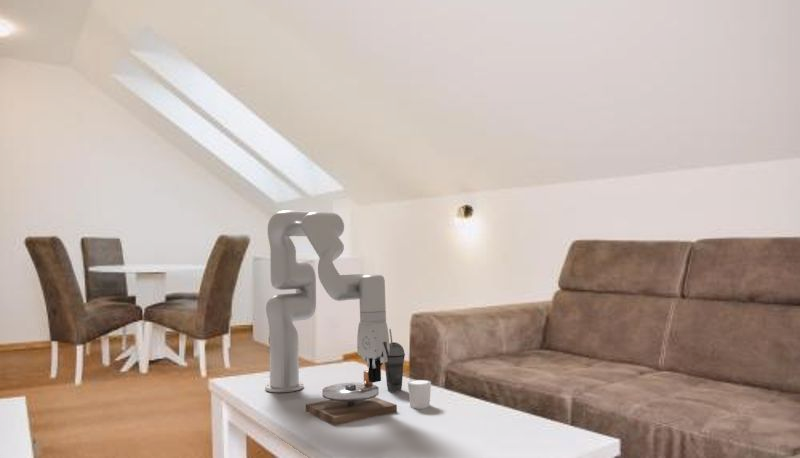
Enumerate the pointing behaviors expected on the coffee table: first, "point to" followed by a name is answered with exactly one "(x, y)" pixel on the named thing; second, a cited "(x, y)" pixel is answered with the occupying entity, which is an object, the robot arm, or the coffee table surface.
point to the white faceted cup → (419, 393)
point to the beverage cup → (394, 366)
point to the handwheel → (351, 390)
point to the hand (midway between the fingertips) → (375, 381)
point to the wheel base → (350, 410)
